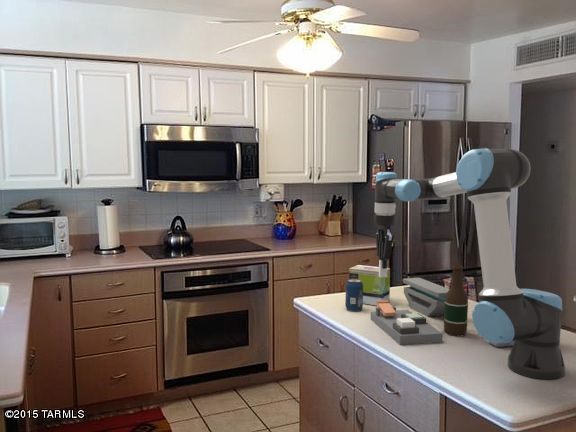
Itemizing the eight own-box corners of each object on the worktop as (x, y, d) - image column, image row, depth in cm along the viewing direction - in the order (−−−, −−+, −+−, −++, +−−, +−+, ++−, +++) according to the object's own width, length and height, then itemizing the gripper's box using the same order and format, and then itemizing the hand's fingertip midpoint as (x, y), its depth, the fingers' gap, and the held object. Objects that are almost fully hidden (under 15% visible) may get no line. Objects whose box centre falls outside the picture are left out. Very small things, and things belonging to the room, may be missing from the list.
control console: (442, 342, 177) (443, 325, 177) (400, 344, 174) (400, 327, 174) (407, 317, 205) (408, 302, 204) (370, 319, 202) (370, 304, 201)
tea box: (390, 301, 227) (391, 267, 225) (381, 307, 219) (381, 271, 217) (357, 296, 235) (358, 263, 233) (347, 301, 226) (348, 267, 225)
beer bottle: (468, 337, 182) (471, 268, 180) (444, 335, 184) (447, 267, 181) (465, 330, 190) (468, 264, 187) (442, 328, 191) (445, 263, 189)
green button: (422, 322, 188) (422, 316, 188) (410, 323, 187) (410, 317, 187) (416, 318, 193) (417, 313, 192) (404, 319, 192) (405, 313, 191)
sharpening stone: (401, 304, 223) (402, 278, 222) (418, 302, 226) (418, 277, 224) (437, 321, 200) (438, 293, 198) (455, 319, 202) (456, 291, 201)
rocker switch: (395, 315, 194) (396, 311, 193) (384, 316, 193) (384, 311, 192) (386, 304, 202) (387, 299, 201) (375, 304, 201) (376, 300, 200)
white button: (414, 327, 178) (415, 321, 178) (402, 328, 177) (402, 322, 177) (409, 323, 182) (409, 317, 182) (396, 324, 181) (396, 318, 181)
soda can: (346, 306, 219) (347, 277, 218) (363, 307, 217) (364, 279, 216) (343, 311, 213) (344, 281, 211) (361, 312, 211) (361, 282, 209)
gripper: (401, 216, 191) (399, 280, 194) (387, 212, 204) (385, 272, 207) (381, 216, 190) (379, 281, 192) (369, 212, 202) (367, 273, 205)
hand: (382, 276), depth 199 cm, fingers closed
